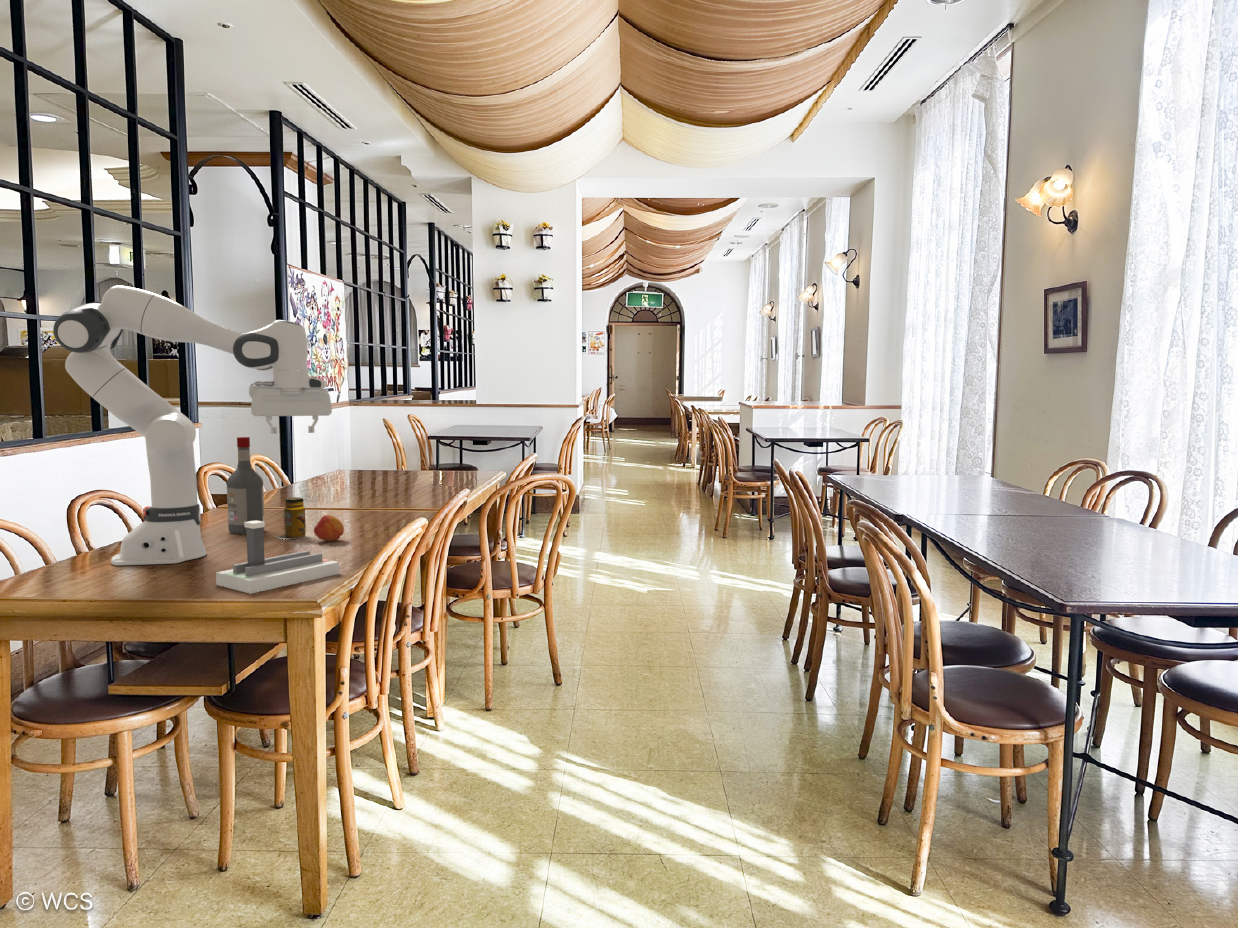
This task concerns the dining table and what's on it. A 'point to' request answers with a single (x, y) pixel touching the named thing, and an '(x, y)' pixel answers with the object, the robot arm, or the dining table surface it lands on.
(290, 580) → the box
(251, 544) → the handle
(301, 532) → the condiment
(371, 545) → the dining table surface
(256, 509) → the liquor
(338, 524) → the fruit
